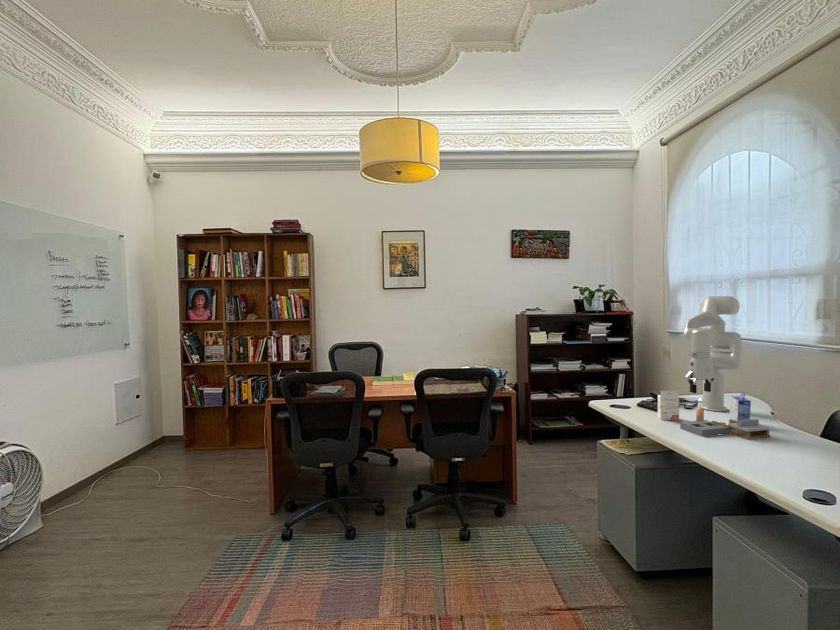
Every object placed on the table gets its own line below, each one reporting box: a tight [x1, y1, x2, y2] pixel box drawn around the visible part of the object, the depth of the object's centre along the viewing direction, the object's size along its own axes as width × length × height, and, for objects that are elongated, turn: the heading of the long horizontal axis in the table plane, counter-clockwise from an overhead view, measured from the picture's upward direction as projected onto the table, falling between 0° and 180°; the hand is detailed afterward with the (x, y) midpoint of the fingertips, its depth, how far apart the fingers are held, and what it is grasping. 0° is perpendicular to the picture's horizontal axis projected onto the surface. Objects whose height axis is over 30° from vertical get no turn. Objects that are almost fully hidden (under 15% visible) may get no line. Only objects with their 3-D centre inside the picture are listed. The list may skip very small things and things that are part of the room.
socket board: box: [679, 419, 730, 437], centre depth 196 cm, size 12×14×3 cm
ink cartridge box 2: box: [729, 392, 752, 421], centre depth 207 cm, size 10×6×14 cm, turn 163°
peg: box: [695, 406, 705, 421], centre depth 206 cm, size 3×3×8 cm
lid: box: [727, 418, 769, 432], centre depth 190 cm, size 9×11×3 cm
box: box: [711, 418, 771, 440], centre depth 194 cm, size 18×12×3 cm, turn 12°
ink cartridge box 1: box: [657, 390, 680, 421], centre depth 216 cm, size 9×5×15 cm, turn 76°
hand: (700, 391), depth 206 cm, fingers open, 7 cm apart
